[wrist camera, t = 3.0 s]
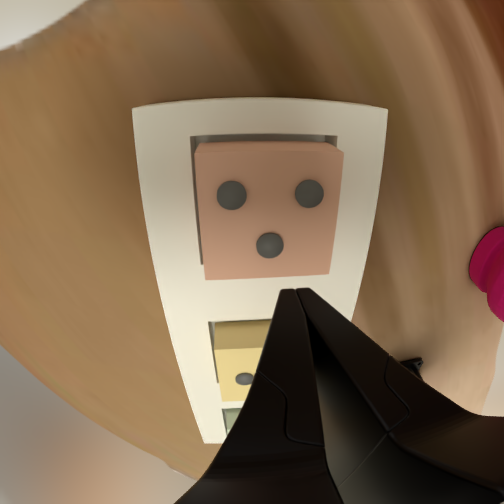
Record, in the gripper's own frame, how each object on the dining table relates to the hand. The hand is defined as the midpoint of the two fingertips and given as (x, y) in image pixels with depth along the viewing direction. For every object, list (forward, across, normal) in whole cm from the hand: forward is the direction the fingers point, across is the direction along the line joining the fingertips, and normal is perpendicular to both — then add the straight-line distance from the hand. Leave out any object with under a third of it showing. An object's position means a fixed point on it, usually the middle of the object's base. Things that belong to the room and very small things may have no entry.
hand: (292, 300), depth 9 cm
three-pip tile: (+7, 0, 0) cm, 7 cm away
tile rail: (+10, 0, +11) cm, 15 cm away
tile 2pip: (+7, 0, +11) cm, 13 cm away
